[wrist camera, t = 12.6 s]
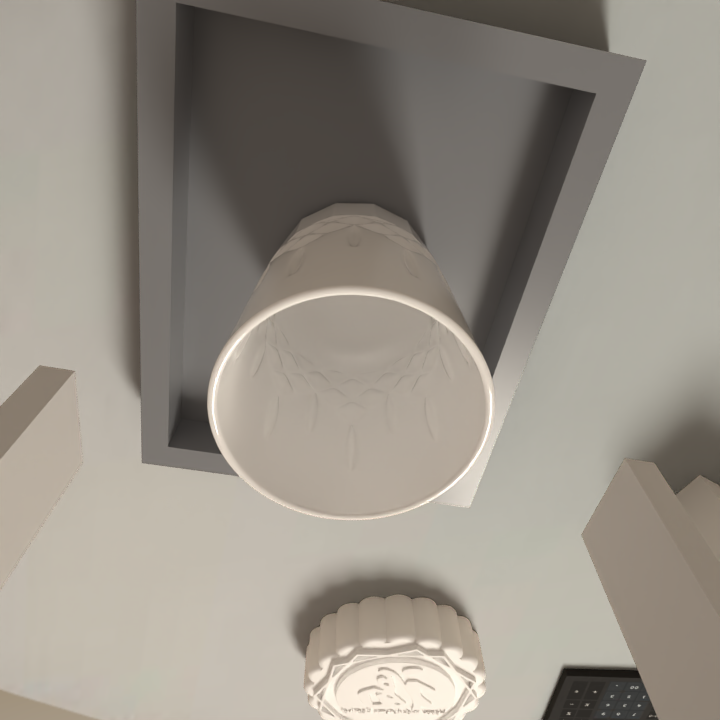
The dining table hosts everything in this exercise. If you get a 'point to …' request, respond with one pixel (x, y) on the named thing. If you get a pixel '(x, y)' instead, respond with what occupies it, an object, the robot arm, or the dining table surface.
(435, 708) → the mooncake
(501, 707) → the dining table surface
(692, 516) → the white cube
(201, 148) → the tray
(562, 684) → the calculator
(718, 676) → the robot arm
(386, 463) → the white cup
